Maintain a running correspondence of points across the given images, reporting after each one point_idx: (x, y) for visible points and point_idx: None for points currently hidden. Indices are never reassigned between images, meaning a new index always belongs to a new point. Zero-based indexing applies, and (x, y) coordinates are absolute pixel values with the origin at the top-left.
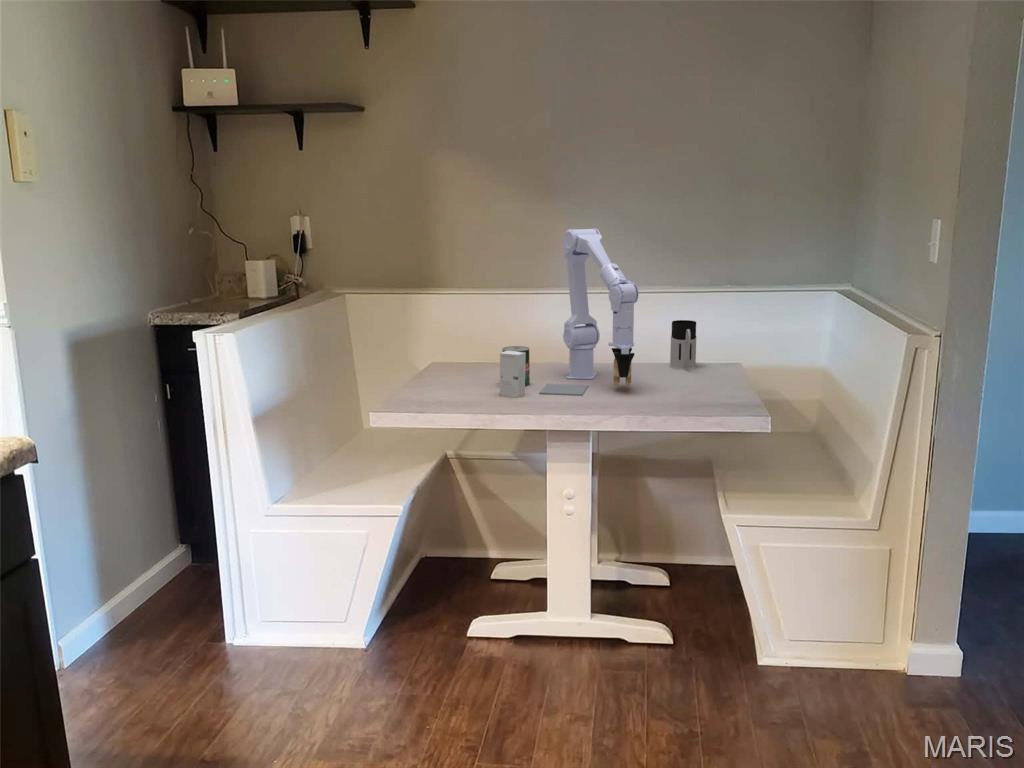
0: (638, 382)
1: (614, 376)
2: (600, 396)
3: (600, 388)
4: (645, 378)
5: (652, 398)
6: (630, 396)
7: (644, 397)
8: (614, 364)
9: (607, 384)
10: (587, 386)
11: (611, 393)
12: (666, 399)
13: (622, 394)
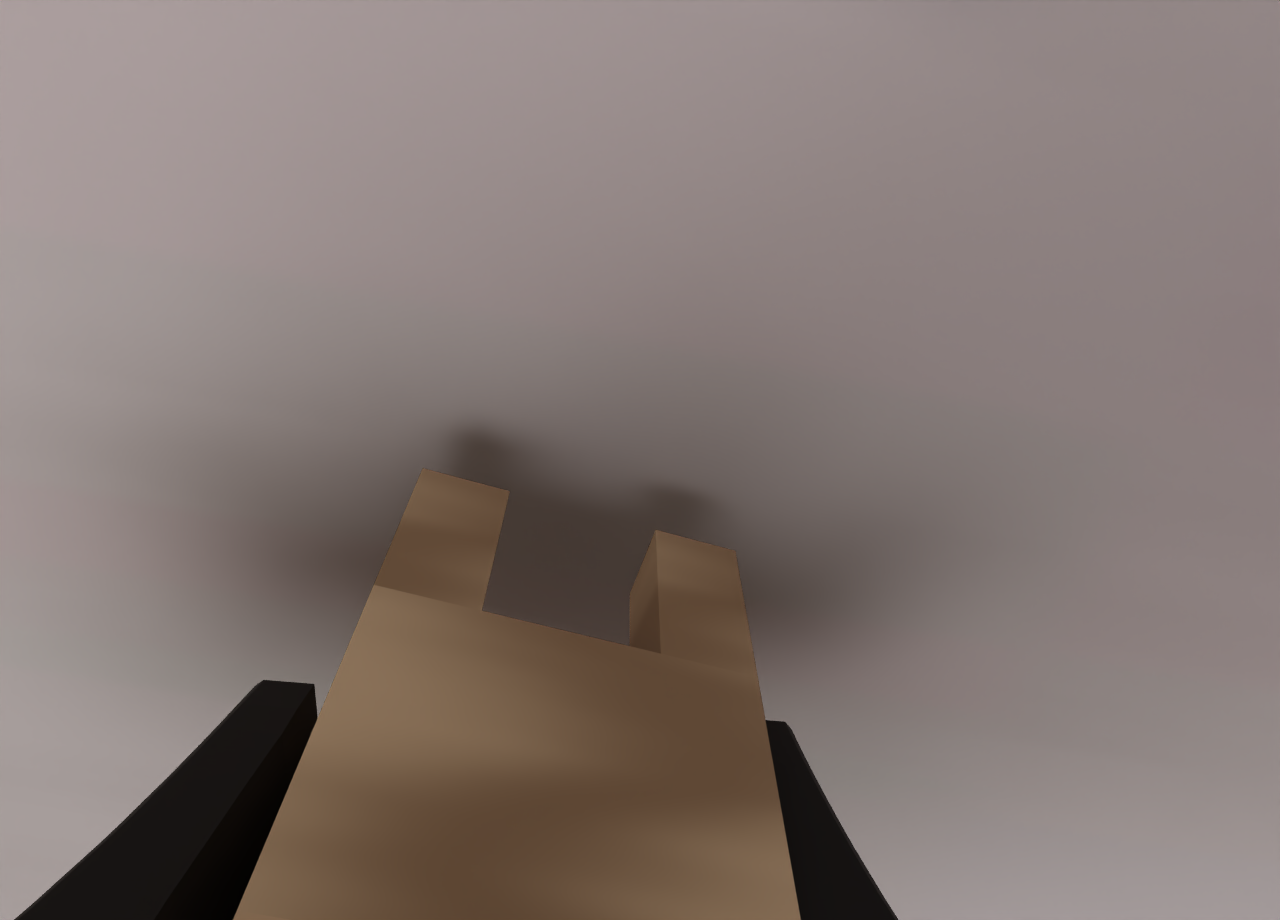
0: (1052, 814)
1: (373, 600)
2: (45, 84)
3: (812, 231)
4: (1243, 908)
5: (55, 788)
6: (136, 583)
7: (99, 724)
8: (256, 883)
9: (1110, 421)
10: None
11: (346, 351)
12: (31, 889)
13: (273, 505)
